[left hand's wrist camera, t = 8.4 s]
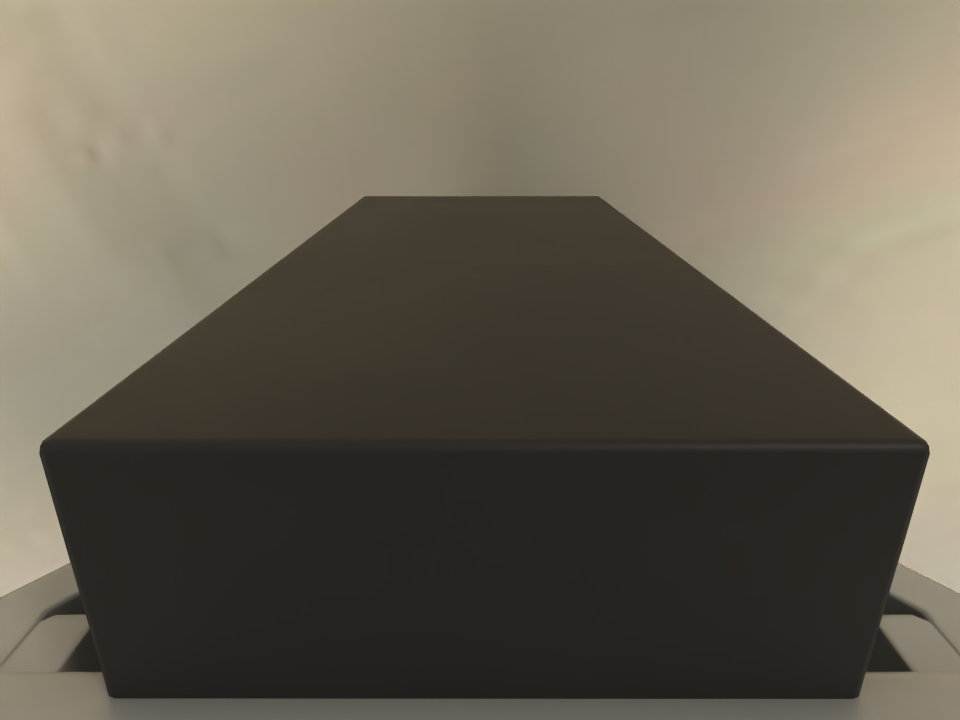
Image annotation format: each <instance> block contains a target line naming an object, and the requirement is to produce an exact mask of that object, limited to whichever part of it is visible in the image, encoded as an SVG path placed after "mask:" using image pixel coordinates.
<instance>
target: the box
mask: <svg viewBox="0 0 960 720" xmlns="http://www.w3.org/2000/svg"><path fill="white" fill-rule="evenodd" d="M39 454H40V457H41V461H42V464H43V468H44V471H45V475H46V478H47V482H48V485H49V489H50V492H51V496H52V499H53V503H54V506H55V510H56V513H57V517H58V520H59V524H60V527H61V531H62V534H63V538H64V541H65V545H66V548H67V552H68V555H69V559H70V562H71V566H72V569H73V573H74V576H75V580H76V583H77V587H78V590H79V594H80V597H81V601H82V604H83V608H84V611H85V615H86V618H87V622H88V625H89V629H90V632H91V636H92V639H93V643H94V646H95V650H96V653H97V657H98V660H99V664H100V667H101V671H102V674H103V678H104V681H105V685H106V688H107V691H108V695H109V696H110V697H112V698H122V699H854V698H857V697H859V694H860V691H861V687H862V684H863V681H864V677H865V674H866V670H867V667H868V663H869V660H870V657H871V653H872V650H873V646H874V643H875V640H876V636H877V633H878V629H879V626H880V622H881V619H882V616H883V612H884V609H885V605H886V602H887V598H888V595H889V592H890V588H891V585H892V581H893V578H894V574H895V571H896V568H897V564H898V561H899V557H900V554H901V550H902V547H903V544H904V540H905V537H906V533H907V530H908V526H909V523H910V520H911V516H912V513H913V509H914V506H915V502H916V499H917V496H918V492H919V489H920V485H921V482H922V478H923V475H924V472H925V468H926V465H927V461H928V458H929V454H930V452H929V446H928V444H927V442H926V441H925V440H924V439H922V438H921V437H920V436H918V435H917V434H916V433H914V432H913V431H912V430H910V429H909V428H908V427H906V426H905V425H904V424H902V423H901V422H900V421H898V420H897V419H896V418H894V417H893V416H892V415H890V414H889V413H888V412H886V411H885V410H884V409H882V408H881V407H880V406H878V405H877V404H876V403H874V402H873V401H872V400H870V399H869V398H868V397H866V396H865V395H864V394H862V393H861V392H860V391H858V390H857V389H856V388H854V387H853V386H852V385H850V384H849V383H848V382H846V381H845V380H843V379H842V378H841V377H839V376H838V375H837V374H835V373H834V372H833V371H831V370H830V369H829V368H827V367H826V366H825V365H823V364H822V363H821V362H819V361H818V360H817V359H815V358H814V357H813V356H811V355H810V354H809V353H807V352H806V351H805V350H803V349H802V348H801V347H799V346H798V345H797V344H795V343H794V342H793V341H791V340H790V339H789V338H787V337H786V336H785V335H783V334H782V333H781V332H779V331H778V330H777V329H775V328H774V327H773V326H771V325H770V324H769V323H767V322H766V321H765V320H763V319H762V318H761V317H759V316H758V315H757V314H755V313H754V312H753V311H751V310H750V309H749V308H747V307H746V306H745V305H743V304H742V303H740V302H739V301H738V300H736V299H735V298H734V297H732V296H731V295H730V294H728V293H727V292H726V291H724V290H723V289H722V288H720V287H719V286H718V285H716V284H715V283H714V282H712V281H711V280H710V279H708V278H707V277H706V276H704V275H703V274H702V273H700V272H699V271H698V270H696V269H695V268H694V267H692V266H691V265H690V264H688V263H687V262H686V261H684V260H683V259H682V258H680V257H679V256H678V255H676V254H675V253H674V252H672V251H671V250H670V249H668V248H667V247H666V246H664V245H663V244H662V243H660V242H659V241H658V240H656V239H655V238H654V237H652V236H651V235H650V234H648V233H647V232H646V231H644V230H643V229H641V228H640V227H639V226H637V225H636V224H635V223H633V222H632V221H631V220H629V219H628V218H627V217H625V216H624V215H623V214H621V213H620V212H619V211H617V210H616V209H615V208H613V207H612V206H611V205H609V204H608V203H607V202H605V201H604V200H603V199H601V198H600V197H598V196H365V197H363V198H362V199H361V200H359V201H358V202H357V203H355V204H354V205H353V206H351V207H350V208H349V209H347V210H346V211H345V212H343V213H342V214H341V215H340V216H338V217H337V218H336V219H334V220H333V221H332V222H330V223H329V224H328V225H326V226H325V227H324V228H322V229H321V230H320V231H318V232H317V233H316V234H315V235H313V236H312V237H311V238H309V239H308V240H307V241H305V242H304V243H303V244H301V245H300V246H299V247H297V248H296V249H295V250H293V251H292V252H291V253H290V254H288V255H287V256H286V257H284V258H283V259H282V260H280V261H279V262H278V263H276V264H275V265H274V266H272V267H271V268H270V269H268V270H267V271H266V272H265V273H263V274H262V275H261V276H259V277H258V278H257V279H255V280H254V281H253V282H251V283H250V284H249V285H247V286H246V287H245V288H243V289H242V290H241V291H240V292H238V293H237V294H236V295H234V296H233V297H232V298H230V299H229V300H228V301H226V302H225V303H224V304H222V305H221V306H220V307H218V308H217V309H216V310H215V311H213V312H212V313H211V314H209V315H208V316H207V317H205V318H204V319H203V320H201V321H200V322H199V323H197V324H196V325H195V326H193V327H192V328H191V329H190V330H188V331H187V332H186V333H184V334H183V335H182V336H180V337H179V338H178V339H176V340H175V341H174V342H172V343H171V344H170V345H168V346H167V347H166V348H165V349H163V350H162V351H161V352H159V353H158V354H157V355H155V356H154V357H153V358H151V359H150V360H149V361H147V362H146V363H145V364H143V365H142V366H141V367H140V368H138V369H137V370H136V371H134V372H133V373H132V374H130V375H129V376H128V377H126V378H125V379H124V380H122V381H121V382H120V383H119V384H117V385H116V386H115V387H113V388H112V389H111V390H109V391H108V392H107V393H105V394H104V395H103V396H101V397H100V398H99V399H97V400H96V401H95V402H94V403H92V404H91V405H90V406H88V407H87V408H86V409H84V410H83V411H82V412H80V413H79V414H78V415H76V416H75V417H74V418H72V419H71V420H70V421H69V422H67V423H66V424H65V425H63V426H62V427H61V428H59V429H58V430H57V431H55V432H54V433H53V434H51V435H50V436H49V437H47V438H46V439H45V440H44V441H43V442H42V444H41V446H40V453H39Z"/></svg>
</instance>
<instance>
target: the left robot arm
mask: <svg viewBox="0 0 960 720" xmlns="http://www.w3.org/2000/svg"><path fill="white" fill-rule="evenodd" d="M0 720H960V594H959V593H957V592H955V591H953V590H951V589H949V588H947V587H945V586H943V585H941V584H939V583H937V582H935V581H933V580H931V579H929V578H927V577H925V576H923V575H921V574H919V573H917V572H915V571H913V570H911V569H909V568H907V567H905V566H903V565H901V564H899V563H898V564H897V568H896V571H895V574H894V578H893V581H892V585H891V588H890V592H889V595H888V598H887V602H886V605H885V609H884V612H883V616H882V619H881V622H880V626H879V629H878V633H877V636H876V640H875V643H874V646H873V650H872V653H871V657H870V660H869V663H868V667H867V670H866V674H865V677H864V681H863V684H862V687H861V691H860V694H859V697H857V698H854V699H122V698H112V697H110V696H109V695H108V691H107V688H106V685H105V681H104V678H103V674H102V671H101V667H100V664H99V660H98V657H97V653H96V650H95V646H94V643H93V639H92V636H91V632H90V629H89V625H88V622H87V618H86V615H85V611H84V608H83V604H82V601H81V597H80V594H79V590H78V587H77V583H76V580H75V576H74V573H73V569H72V566H71V563H69V564H67V565H65V566H63V567H61V568H59V569H57V570H55V571H53V572H51V573H49V574H47V575H45V576H43V577H41V578H39V579H37V580H35V581H33V582H31V583H29V584H27V585H25V586H23V587H21V588H19V589H17V590H15V591H13V592H11V593H9V594H7V595H5V596H3V597H1V598H0Z"/></svg>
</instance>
